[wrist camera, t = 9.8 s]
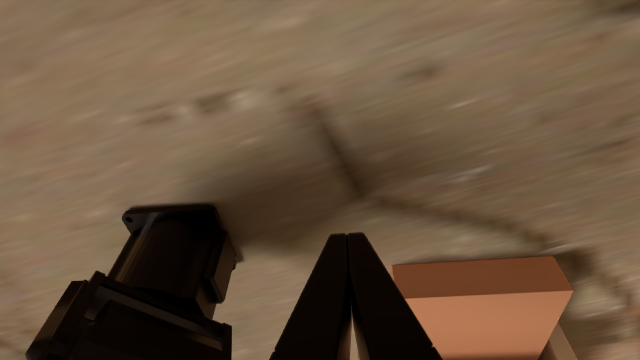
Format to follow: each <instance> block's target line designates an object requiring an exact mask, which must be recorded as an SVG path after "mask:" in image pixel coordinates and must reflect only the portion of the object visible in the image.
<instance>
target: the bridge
mask: <svg viewBox="0 0 640 360" xmlns="http://www.w3.org/2000/svg"><path fill="white" fill-rule="evenodd" d="M357 348H358V347H357ZM358 360H360V358H359V353H358ZM538 360H578V359H577V357H576V355H575V354H574V352H573V350H572V348H571V346H570V344H569V342H568V340H567V338H566V337H565V335H564V333H563V331H562V329H561V327H560V325H559V323H558V322H557V324H556V326H555V328H554V330H553V332H552V333H551V335H550V337H549V339H548V341H547V343H546V345H545V347H544V349H543V351H542V352H541V354H540V356H539V358H538Z"/></svg>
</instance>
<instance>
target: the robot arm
mask: <svg viewBox="0 0 640 360" xmlns="http://www.w3.org/2000/svg"><path fill="white" fill-rule="evenodd" d="M207 212H210V213H207ZM122 220H123V222H124V224H125V225H126V227H127V229H128V230H129V232H130V234H131V235H130V237H129V239H128V240H127V242H126V244H125V246H124V247H123V249H122V251H121V253H120V255H119V256H118V258H117V260H116V262H115V263H114V265H113V267H112V269H111V270H110V272H109V274H108V276H105V275H106V274H104V273H101V272H99V271H95V273H94V274H93V275H92V277H91V278H90V280H89V281H87V280H84V281H72V282H71V283H70V285H69V286H68V288H67V289H66V291H65V292H64V294H63V295H62V297H61V298H60V300H59V301H58V303H57V305H56V306H55V308H54V309H53V311H52V312H51V314H50V315H49V317H48V319H47V320H46V322H45V323H44V325H43V326H42V328H41V330H40V331H39V333H38V334H37V336H36V337H35V339H34V341H33V342H32V344H31V345H30V347H29V348H28V350H27V352H26V353H25V356H26V359H27V360H231V353H232V326H231V325H228V324H226V323H223V324H222V323H219V322H217V321H215V320H212V319H213V315H214V311H215V307H216V304H221V303H222V302H223V301H224V300H225V296H226V292H227V288H228V284H229V280H230V276H231V272H232V270H234V269H235V268H236V260H235V256H236V254H235V251H234V248H233V246H232V243H231V240H230V238H229V235H228V233H227V232H226V231H225V230H224V228H223V226H222V223H221V221H220V218H219V215H218V213H217V210H216V209H215V208H214V207H213V206H211V205H201V206H186V207H171V208H157V209H142V210H128V211H126V212H125V213H124V214H123V216H122ZM351 306H352V309H351ZM352 318H353V325H354V331H355V336H356V342H357V347H358V353H359V358H360V360H443V359H442V357H441V356H440V354H439V352H438V351H437V349H436V348H435V347H433V343H432V341H431V340H430V338H429V337H428V335H427V333H426V332H425V330H424V329H423V327H422V325H421V324H420V322H419V321H418V319H417V317H416V316H415V314H414V313H413V311H412V309H411V308H410V306H409V305H408V303H407V301H406V300H405V298H404V297H403V295H402V293H401V292H400V290H399V289H398V287H397V285H396V284H395V282H394V281H393V279H392V277H391V276H390V274H389V273H388V271H387V269H386V268H385V266H384V265H383V263H382V261H381V260H380V258H379V257H378V255H377V253H376V252H375V250H374V249H373V247H372V245H371V244H370V242H369V241H368V239H367V237H366V236H365V234H364V233H362V232H358V233H349V234H348V235H346V234H345V233H339V234H331V235H330V236H329V238H328V240H327V242H326V244H325V246H324V248H323V250H322V252H321V254H320V256H319V258H318V260H317V263H316V265H315V267H314V269H313V271H312V273H311V275H310V277H309V279H308V281H307V283H306V285H305V287H304V289H303V291H302V293H301V295H300V298H299V300H298V302H297V304H296V306H295V308H294V310H293V312H292V314H291V316H290V318H289V320H288V322H287V324H286V326H285V328H284V330H283V332H282V335H281V337H280V339H279V341H278V343H277V345H276V347H275V352H273V353H272V355H271V357H270V359H269V360H350V345H351V329H352Z"/></svg>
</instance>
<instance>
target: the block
mask: <svg viewBox="0 0 640 360" xmlns="http://www.w3.org/2000/svg"><path fill="white" fill-rule="evenodd" d="M392 279H393V281H394V282H395V284H396V285H397V287H398V289H399V290H400V292H401V293H402V295H403V297H404V298H405V300H406V301H407V303H408V305H409V306H410V308H411V309H412V311H413V313H414V314H415V316H416V317H417V319H418V321H419V322H420V324H421V325H422V327H423V329H424V330H425V332H426V333H427V335H428V337H429V338H430V340H431V341H432V343H433V347H435V348H436V349H437V351H438V352H439V354H440V356H441V357H442V359H443V360H538V358H539V356H540V354H541V352H542V351H543V349H544V347H545V345H546V343H547V341H548V339H549V337H550V335H551V333H552V332H553V330H554V328H555V326H556V324H557V322H558V320H559V318H560V316H561V314H562V313H563V311H564V309H565V307H566V305H567V303H568V301H569V299H570V297H571V295H572V293H573V292H574V290H573V288H572V286H571V285H570V283H569V281H568V280H567V278H566V276H565V275H564V273H563V271H562V270H561V268H560V266H559V265H558V263H557V261H556V260H555V258H554V257H553V256H545V257H528V258H511V259H494V260H477V261H460V262H443V263H426V264H409V265H392Z"/></svg>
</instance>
